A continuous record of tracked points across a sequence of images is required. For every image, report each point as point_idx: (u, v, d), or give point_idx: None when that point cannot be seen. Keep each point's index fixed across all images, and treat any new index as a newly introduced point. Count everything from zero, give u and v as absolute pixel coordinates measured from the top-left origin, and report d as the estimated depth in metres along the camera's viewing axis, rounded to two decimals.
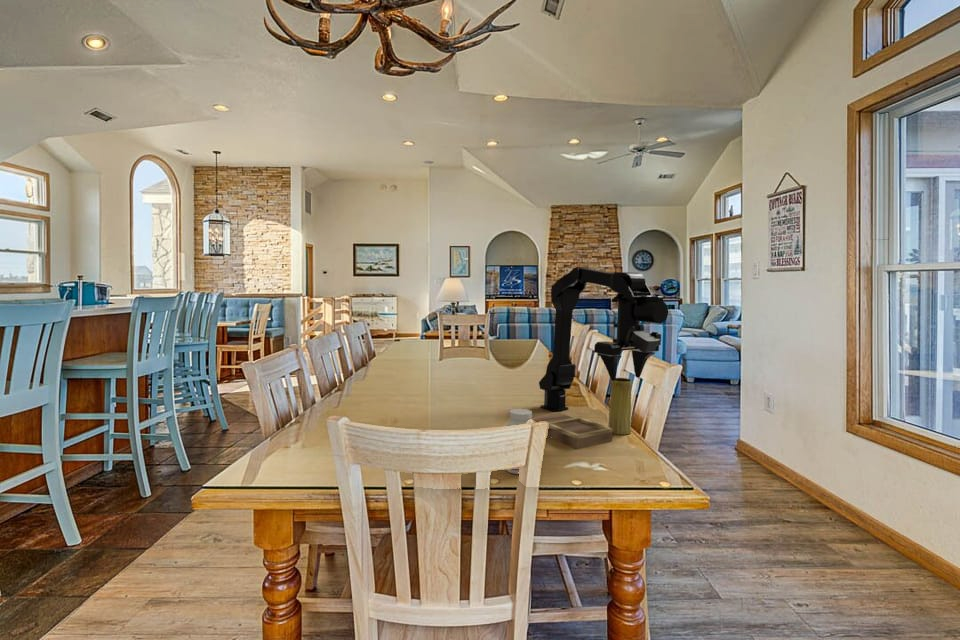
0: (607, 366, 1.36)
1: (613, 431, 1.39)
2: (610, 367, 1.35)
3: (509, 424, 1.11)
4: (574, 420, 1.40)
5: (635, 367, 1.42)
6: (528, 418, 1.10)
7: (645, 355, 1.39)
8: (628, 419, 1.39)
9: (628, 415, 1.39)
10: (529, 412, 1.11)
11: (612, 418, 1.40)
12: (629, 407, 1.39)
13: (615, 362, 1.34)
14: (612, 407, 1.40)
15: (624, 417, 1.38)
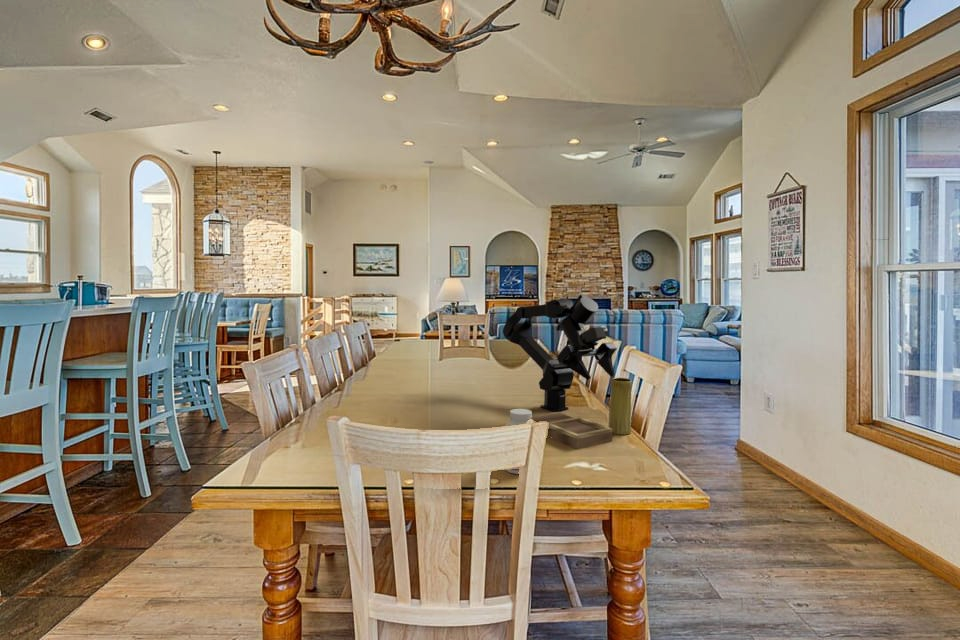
0: (577, 370, 1.46)
1: (613, 431, 1.39)
2: (579, 369, 1.45)
3: (509, 424, 1.11)
4: (574, 420, 1.40)
5: (606, 370, 1.51)
6: (528, 418, 1.10)
7: (607, 354, 1.51)
8: (628, 419, 1.39)
9: (628, 415, 1.39)
10: (529, 412, 1.11)
11: (612, 418, 1.40)
12: (629, 407, 1.39)
13: (580, 361, 1.45)
14: (612, 407, 1.40)
15: (624, 417, 1.38)
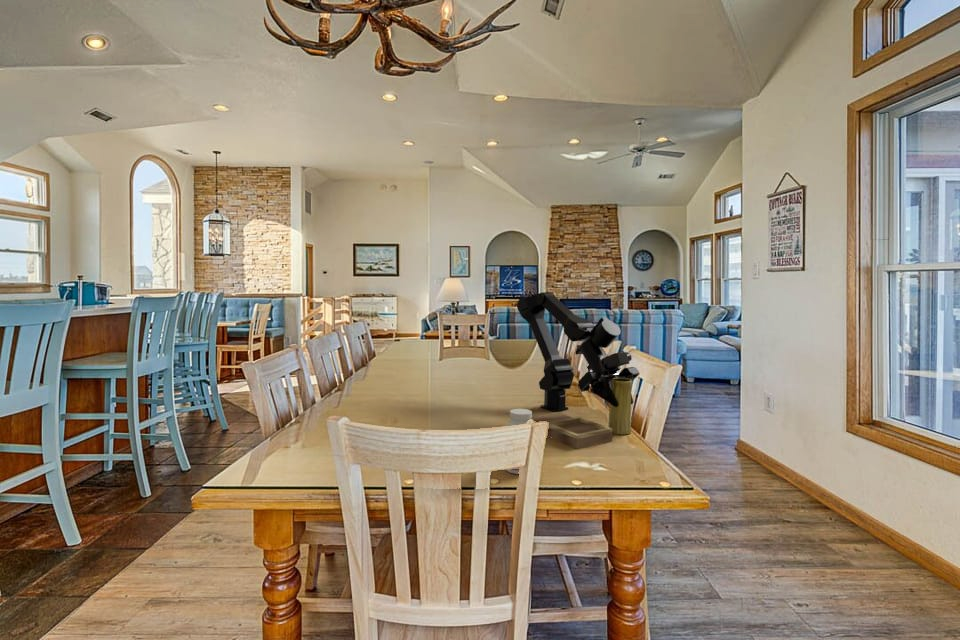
0: (604, 397, 1.40)
1: (613, 431, 1.39)
2: (607, 395, 1.39)
3: (509, 424, 1.11)
4: (574, 420, 1.40)
5: None
6: (528, 418, 1.10)
7: None
8: (628, 419, 1.39)
9: (628, 415, 1.39)
10: (529, 412, 1.11)
11: (612, 418, 1.40)
12: (629, 407, 1.39)
13: (607, 387, 1.39)
14: (612, 407, 1.39)
15: (624, 417, 1.38)
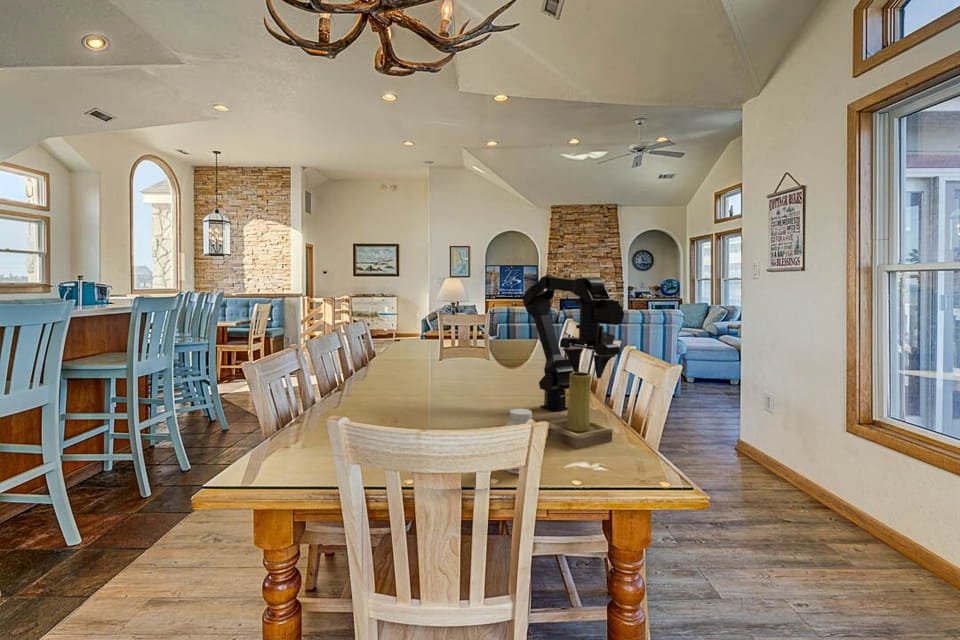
0: (599, 366, 1.45)
1: (567, 426, 1.34)
2: (602, 366, 1.46)
3: (509, 424, 1.11)
4: None
5: (574, 364, 1.54)
6: (528, 418, 1.10)
7: (580, 351, 1.56)
8: (582, 416, 1.32)
9: (582, 412, 1.32)
10: (529, 412, 1.11)
11: (568, 413, 1.34)
12: (584, 403, 1.31)
13: None
14: (568, 401, 1.34)
15: (576, 413, 1.32)
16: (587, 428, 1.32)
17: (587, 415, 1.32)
